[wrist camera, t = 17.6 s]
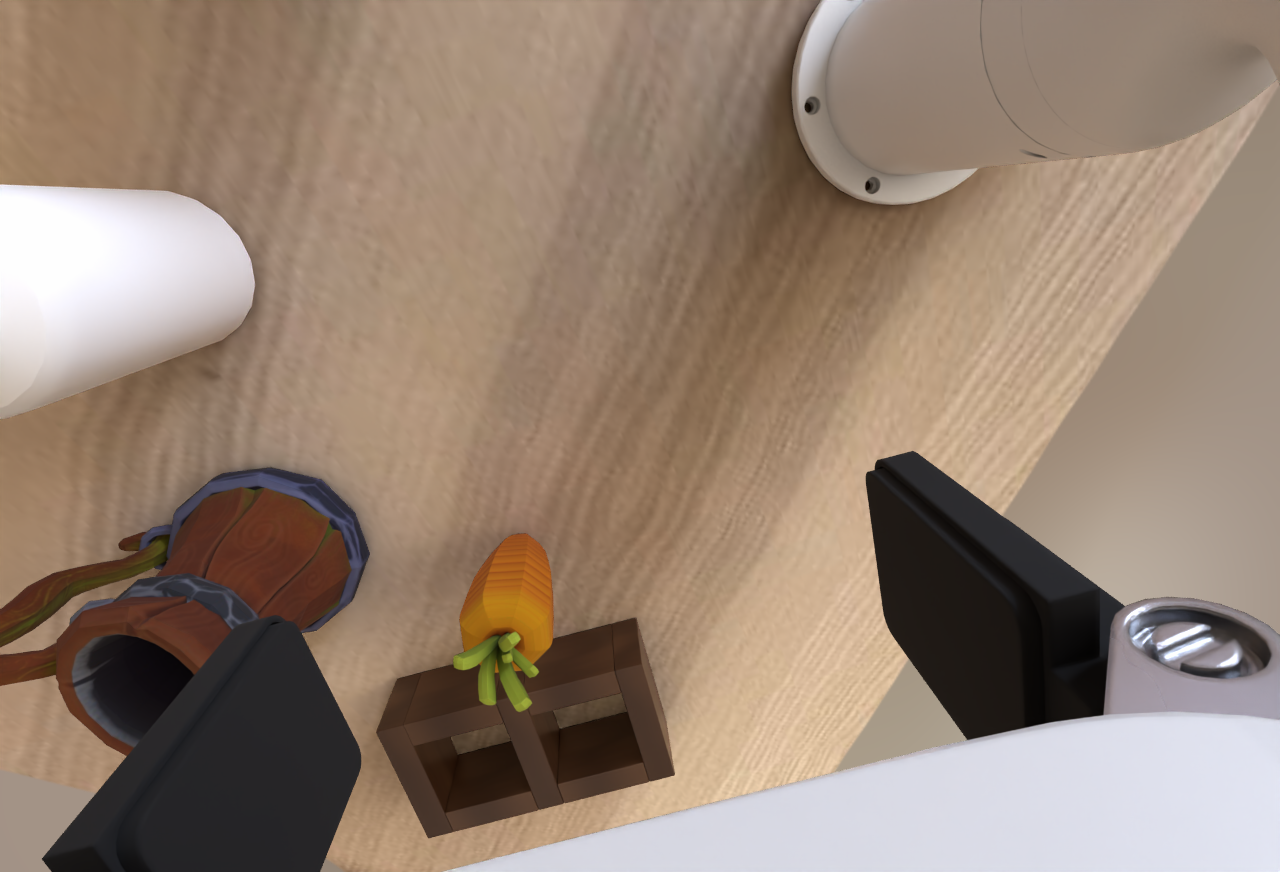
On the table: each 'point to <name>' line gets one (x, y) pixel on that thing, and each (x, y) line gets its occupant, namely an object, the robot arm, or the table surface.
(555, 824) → the table surface
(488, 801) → the holder
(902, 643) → the robot arm
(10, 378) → the white bottle
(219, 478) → the mug
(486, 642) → the carrot
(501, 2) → the table surface
